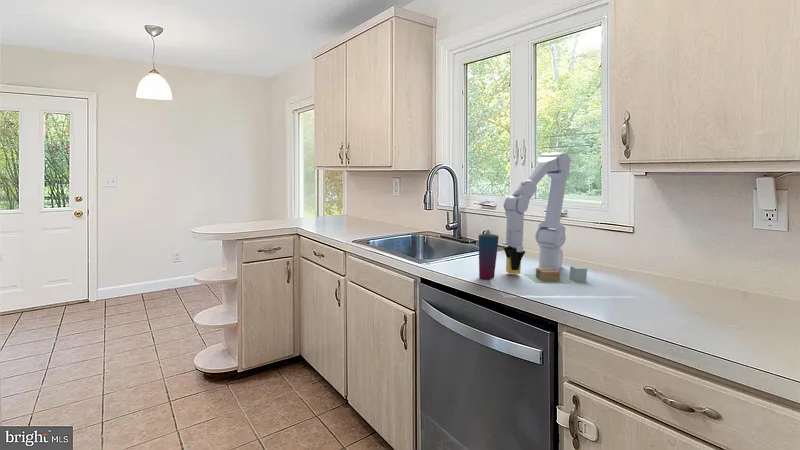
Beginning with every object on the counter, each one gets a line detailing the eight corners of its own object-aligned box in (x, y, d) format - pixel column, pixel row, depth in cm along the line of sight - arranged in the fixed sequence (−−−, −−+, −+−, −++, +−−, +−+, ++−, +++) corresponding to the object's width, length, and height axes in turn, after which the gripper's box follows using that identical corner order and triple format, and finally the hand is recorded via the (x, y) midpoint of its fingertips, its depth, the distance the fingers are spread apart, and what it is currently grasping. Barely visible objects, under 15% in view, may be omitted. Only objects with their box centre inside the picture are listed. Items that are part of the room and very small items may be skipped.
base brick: (535, 276, 148) (536, 267, 148) (552, 276, 148) (553, 267, 148) (541, 280, 142) (542, 271, 142) (559, 280, 142) (560, 271, 142)
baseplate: (524, 275, 151) (524, 274, 151) (557, 276, 151) (558, 274, 151) (535, 284, 139) (535, 282, 139) (571, 284, 139) (572, 283, 139)
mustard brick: (505, 271, 152) (506, 257, 151) (517, 271, 152) (517, 257, 151) (508, 273, 148) (509, 259, 147) (520, 273, 148) (520, 259, 147)
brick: (569, 280, 146) (570, 265, 145) (580, 280, 146) (581, 266, 146) (574, 283, 142) (575, 268, 141) (586, 283, 142) (587, 268, 142)
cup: (496, 281, 143) (499, 237, 141) (476, 279, 144) (478, 236, 143) (496, 276, 150) (498, 234, 148) (476, 275, 151) (478, 233, 149)
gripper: (498, 227, 155) (496, 263, 157) (509, 233, 141) (507, 273, 142) (517, 227, 155) (515, 263, 157) (530, 233, 141) (528, 273, 143)
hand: (513, 268), depth 150 cm, fingers closed on mustard brick, 4 cm apart
